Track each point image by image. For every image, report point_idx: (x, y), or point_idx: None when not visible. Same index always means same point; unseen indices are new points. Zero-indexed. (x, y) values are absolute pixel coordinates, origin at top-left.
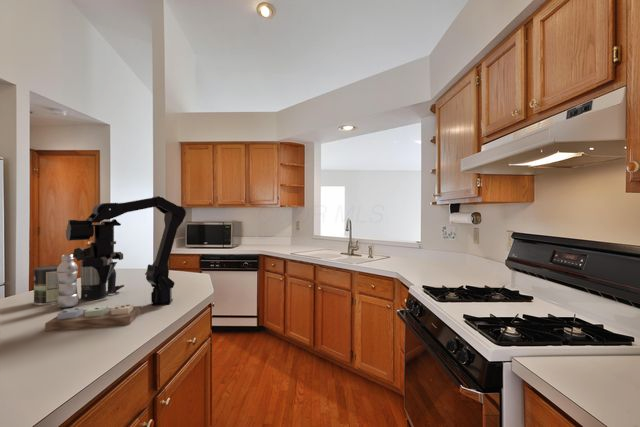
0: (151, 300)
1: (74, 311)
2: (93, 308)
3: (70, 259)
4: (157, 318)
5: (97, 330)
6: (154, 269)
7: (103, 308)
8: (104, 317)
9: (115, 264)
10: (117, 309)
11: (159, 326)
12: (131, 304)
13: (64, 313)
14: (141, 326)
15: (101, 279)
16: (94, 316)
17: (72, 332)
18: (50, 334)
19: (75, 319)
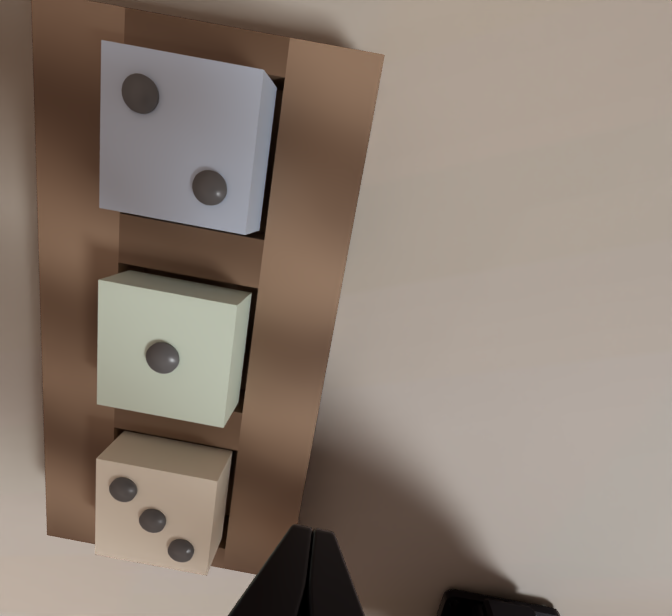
0: (492, 614)
1: (128, 189)
2: (182, 328)
3: None
4: (144, 606)
5: (15, 356)
6: None
7: (151, 402)
8: (65, 402)
9: None
10: (96, 493)
11: (6, 610)
12: (203, 566)
13: (104, 109)
14: (27, 545)
15: (250, 596)
16: None
17: (12, 223)
18: (4, 89)
19: (69, 219)
